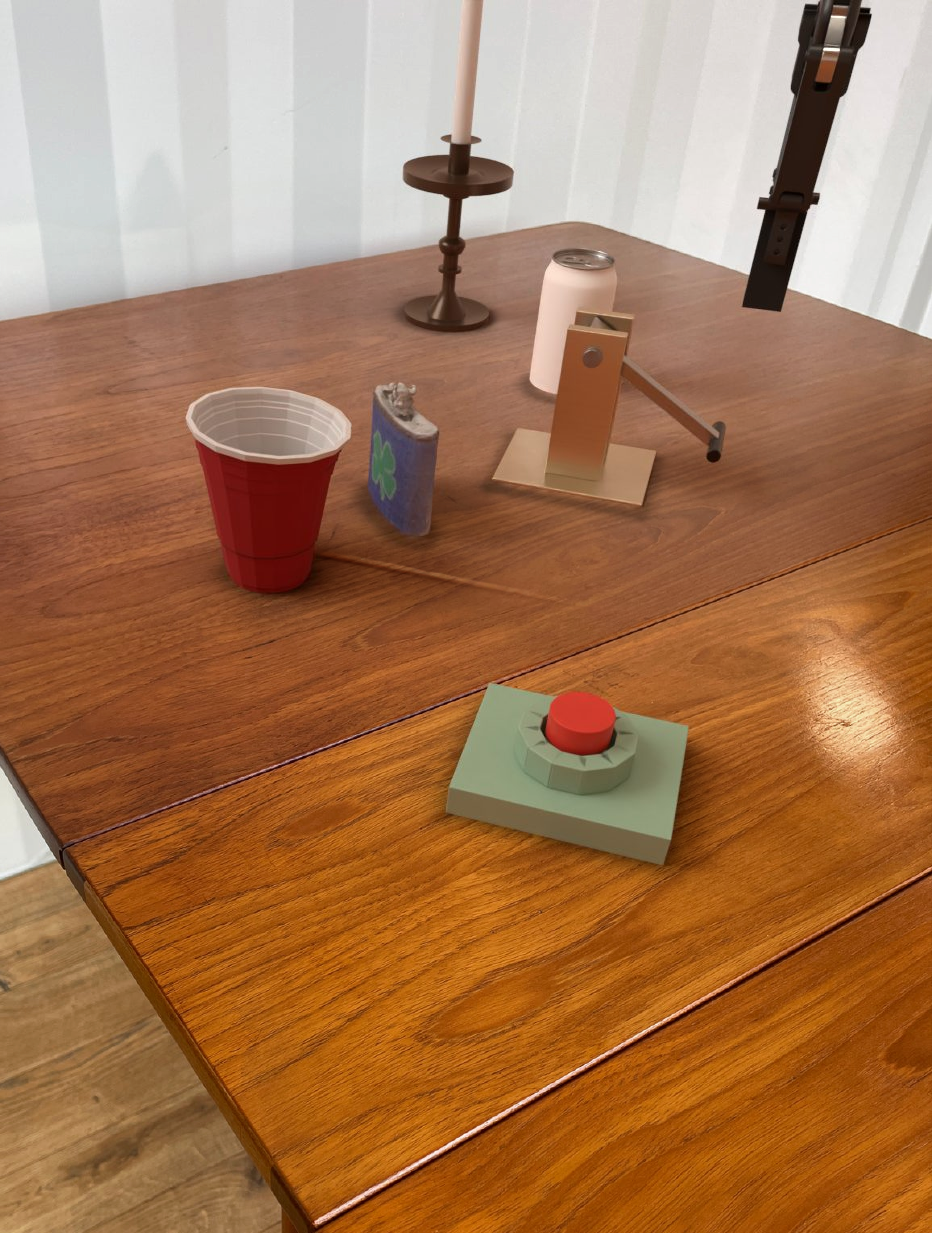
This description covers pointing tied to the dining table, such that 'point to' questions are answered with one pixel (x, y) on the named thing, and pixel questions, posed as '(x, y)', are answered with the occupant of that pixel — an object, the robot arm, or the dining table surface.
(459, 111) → the candlestick
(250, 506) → the plastic cup
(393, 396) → the flask
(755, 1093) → the dining table surface
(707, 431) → the lever
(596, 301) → the can
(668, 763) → the button block
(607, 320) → the bracket
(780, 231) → the robot arm
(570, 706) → the button
